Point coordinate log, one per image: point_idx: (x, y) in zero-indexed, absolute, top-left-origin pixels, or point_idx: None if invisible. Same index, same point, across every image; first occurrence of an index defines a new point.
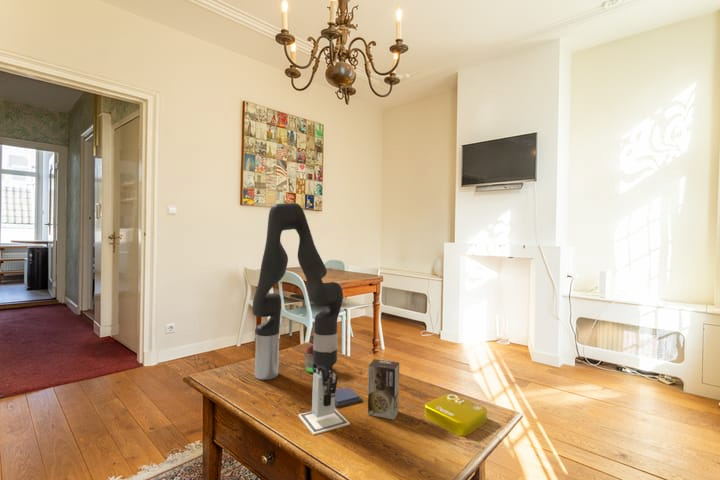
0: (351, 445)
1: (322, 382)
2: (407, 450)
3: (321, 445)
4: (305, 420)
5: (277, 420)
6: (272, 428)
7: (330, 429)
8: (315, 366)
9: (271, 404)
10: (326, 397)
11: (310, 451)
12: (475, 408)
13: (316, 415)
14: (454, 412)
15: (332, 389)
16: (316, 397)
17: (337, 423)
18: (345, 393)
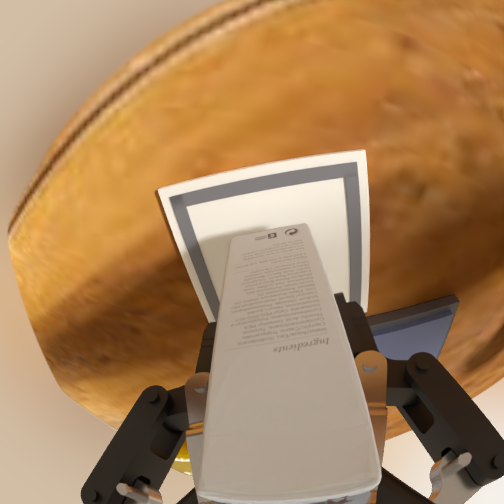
0: (96, 297)
1: (199, 456)
2: (96, 377)
3: (92, 209)
4: (287, 172)
5: (350, 40)
6: (275, 5)
7: (186, 265)
8: (472, 471)
9: (487, 75)
10: (201, 363)
11: (65, 166)
12: (188, 472)
13: (239, 238)
14: (177, 462)
15: (172, 431)
16: (244, 309)
17: (219, 300)
18: None
